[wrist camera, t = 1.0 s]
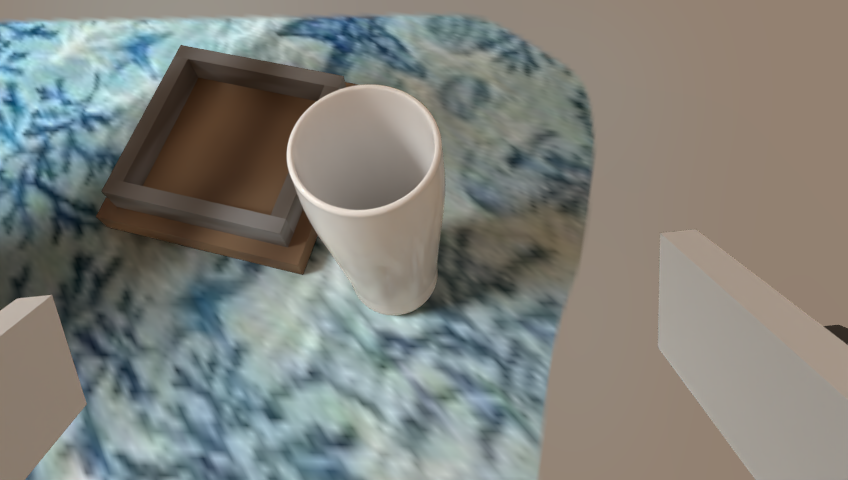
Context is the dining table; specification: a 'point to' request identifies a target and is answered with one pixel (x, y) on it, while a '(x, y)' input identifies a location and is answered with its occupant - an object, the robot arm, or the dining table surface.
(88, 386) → the dining table surface
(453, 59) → the dining table surface
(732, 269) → the robot arm
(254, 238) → the collar board
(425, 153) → the white cup
